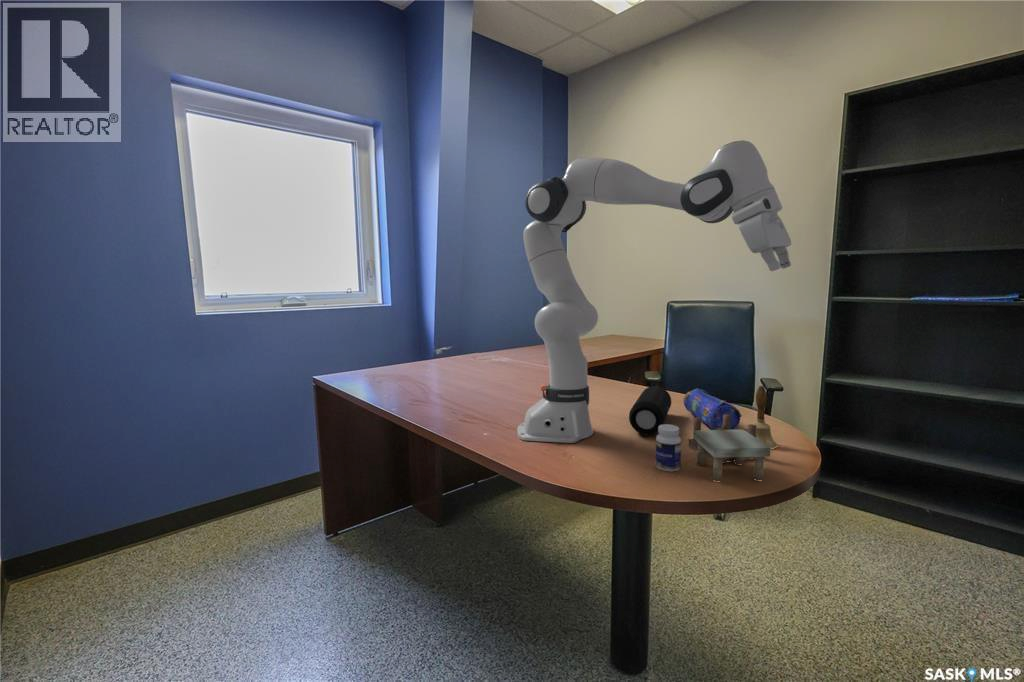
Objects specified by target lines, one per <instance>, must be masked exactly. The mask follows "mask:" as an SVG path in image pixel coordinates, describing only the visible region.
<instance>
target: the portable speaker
mask: <svg viewBox="0 0 1024 682" xmlns="http://www.w3.org/2000/svg"><path fill="white" fill-rule="evenodd" d="M671 406H672V397H671V395H670V392H668V391H667V390H666V389H665V388H663V387H661V386H658V385H651V386H649V387H646V388H644V390H642V392H641V393H640V395H639V396H638V398H637V399H636V401H635V403H634V404H633V406H632V407H631V408H630V410H629V414H628V421H629V424H630V426H631V427H632V428H633V430H634V431H636V432H637V433H638V434H639V435H640V434H641V435H643V436H651V435H652V436H653V435H655V434H659V432H658V427H659V425H663V424H665V421H666V419H667V416H668V414H669V411H670V408H671Z"/></svg>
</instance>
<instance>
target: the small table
mask: <svg viewBox="0 0 1024 682" xmlns="http://www.w3.org/2000/svg"><path fill="white" fill-rule="evenodd" d="M693 431H694V432H693V435H692V439H693V438H694V439H695V440H696V441H697V442H698V452H697V455H696V457H697V459H696V460H697V462H696V465H698V464H699V465H698V466H701V465H704V466H706V450H707V451H708V452H709V453H710V454H711V455H712V456H713V457H714V458H713V460H712V462H713V463H712V481H713V480H715V481H721V480H722V479H723V478H722V477H723V463H722V458H723V457H735V461H734V464H735V463H736V464H735V465H737V464H743V465H744V460H743V457H755V459H754V463H753V480H754V479H756V480H763V481H764V467H765V466H764V463H765V457H767V458H770V457H771V450H770V449H771V448H770V447H769V446H767V445H766V444H764V443H763V442H761V441H760V440H758V439H757V438H755V437H754V436H752V435H751V434H749V433H748V431H746V430H745V429H734V430H714V429H701V430H694V429H693ZM722 481H723V480H722Z"/></svg>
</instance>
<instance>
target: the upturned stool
mask: <svg viewBox="0 0 1024 682" xmlns="http://www.w3.org/2000/svg"><path fill="white" fill-rule="evenodd" d="M730 420H731V415H728V414H724V415H723V428H717V430H730ZM694 430H702V421H701V418H697V417H696V416H695V417H694V418H693V432H694ZM747 432H748V433H749V434H751V435H752V436H754V437H755V438H756V425H752V423H751V424H747ZM687 442H688V443H687V447H689V448H690V447H691V449H692V448H693V449H692V450H695V451H696V452H697V451H698V442H697V441H696V440H695V439H694V438H693V437H692V438H688V441H687ZM706 456H707V458H708V457H709V458H708V459H710V458H711V459H712V460H711V459H710V460H711V461H713V458H714V457H713V456H712V455H711V454H710V453H709V452H708V451H707V450H706ZM706 456H705V457H706ZM750 458H755V457H743V459H748V460H751V459H750ZM734 460H735V457H723V458H722V462H727V461H734ZM734 462H735V461H734ZM727 463H728V462H727Z"/></svg>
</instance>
